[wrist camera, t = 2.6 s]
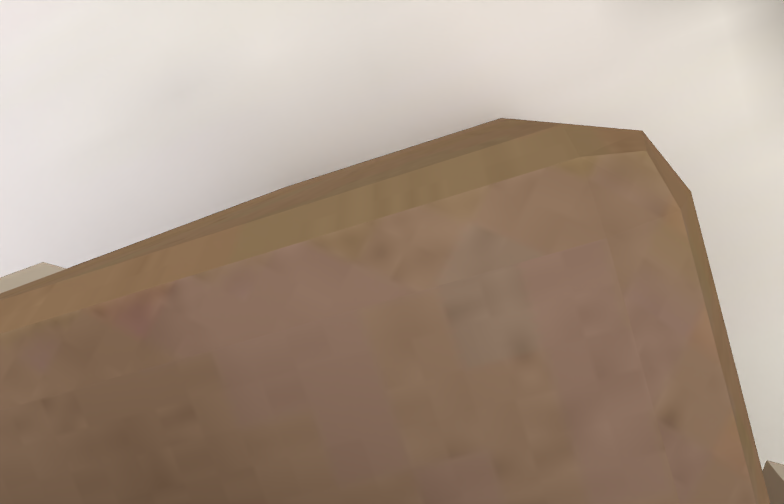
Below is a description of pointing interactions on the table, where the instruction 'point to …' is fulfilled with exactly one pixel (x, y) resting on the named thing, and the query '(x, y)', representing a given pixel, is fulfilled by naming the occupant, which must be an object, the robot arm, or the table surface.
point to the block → (394, 342)
